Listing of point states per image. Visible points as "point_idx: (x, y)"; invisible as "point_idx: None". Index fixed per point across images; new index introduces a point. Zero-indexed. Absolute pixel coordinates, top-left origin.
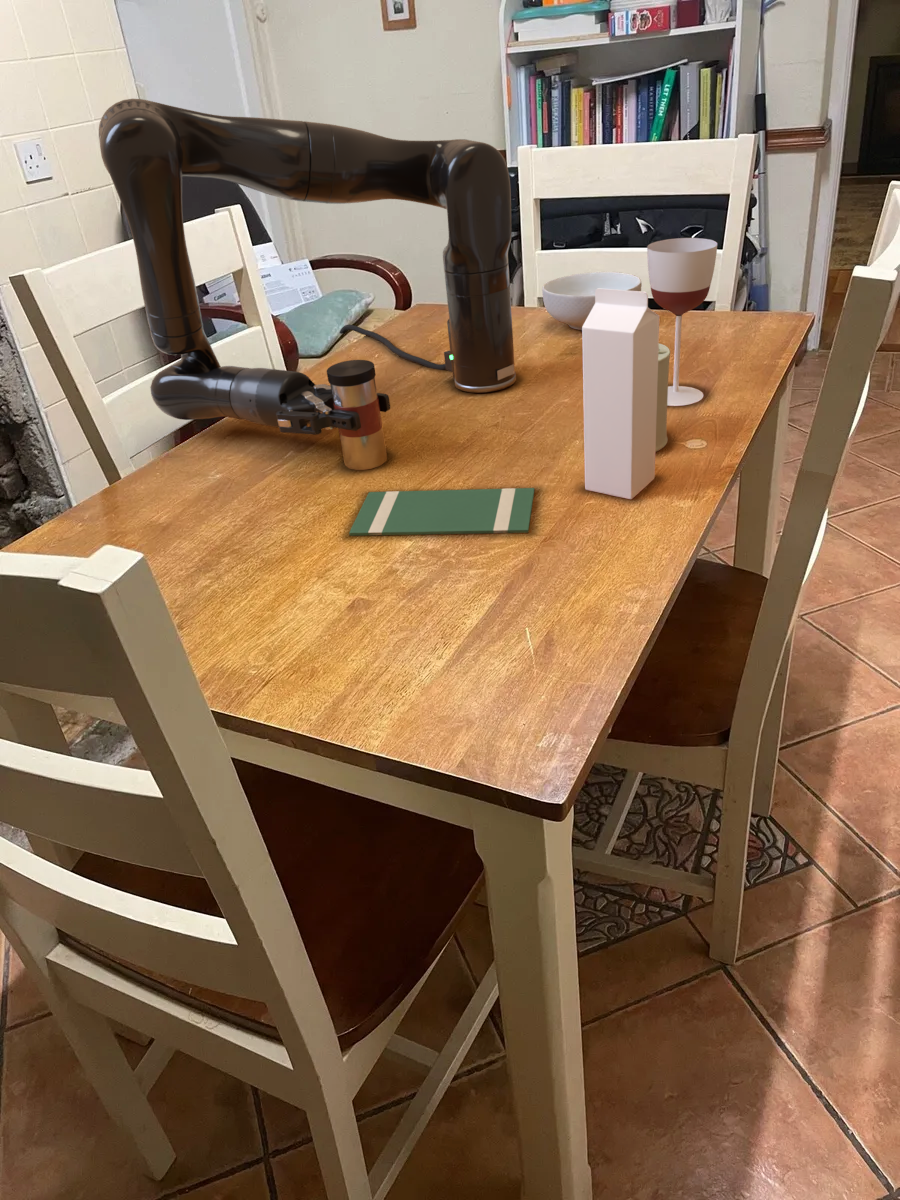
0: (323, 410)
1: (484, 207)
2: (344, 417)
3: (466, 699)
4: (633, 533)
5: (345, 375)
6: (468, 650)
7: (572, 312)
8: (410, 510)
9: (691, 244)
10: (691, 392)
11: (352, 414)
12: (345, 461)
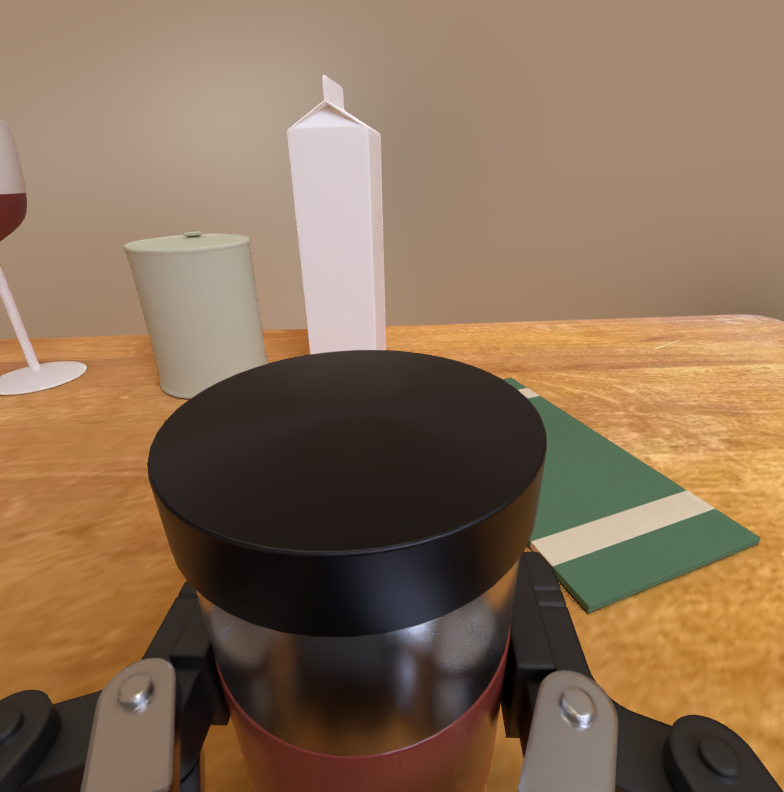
0: (604, 724)
1: None
2: (546, 579)
3: (770, 347)
4: (452, 341)
5: (499, 382)
6: (729, 360)
7: None
8: (581, 488)
9: None
10: (42, 365)
11: None
12: None
